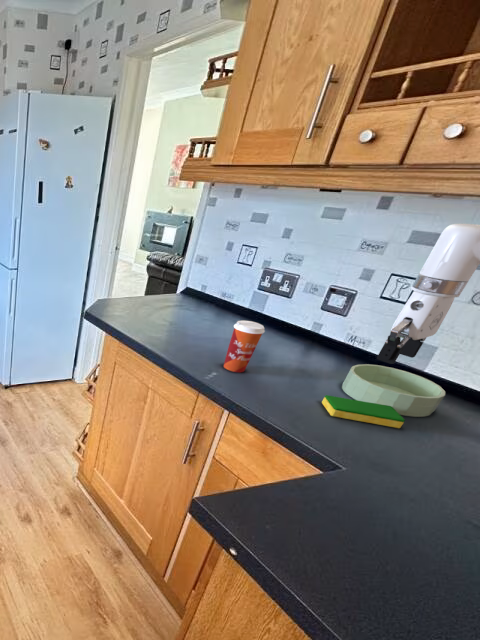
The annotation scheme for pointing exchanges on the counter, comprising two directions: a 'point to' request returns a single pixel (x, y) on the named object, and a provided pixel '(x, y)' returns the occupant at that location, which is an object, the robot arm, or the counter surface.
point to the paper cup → (242, 345)
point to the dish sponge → (363, 411)
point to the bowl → (393, 389)
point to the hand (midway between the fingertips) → (395, 358)
